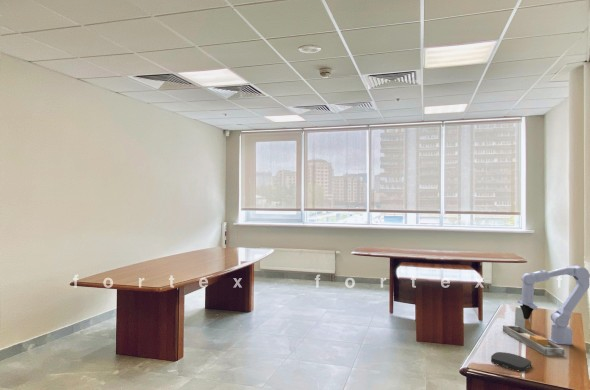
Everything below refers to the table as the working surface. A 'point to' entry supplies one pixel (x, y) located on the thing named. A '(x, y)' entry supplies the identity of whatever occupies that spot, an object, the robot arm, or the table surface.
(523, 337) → the trap lane
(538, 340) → the orange block
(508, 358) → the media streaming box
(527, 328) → the small box
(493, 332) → the table surface
